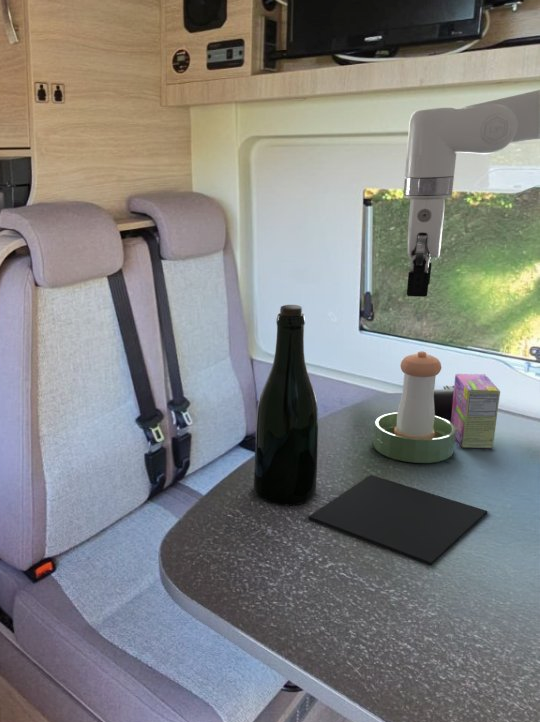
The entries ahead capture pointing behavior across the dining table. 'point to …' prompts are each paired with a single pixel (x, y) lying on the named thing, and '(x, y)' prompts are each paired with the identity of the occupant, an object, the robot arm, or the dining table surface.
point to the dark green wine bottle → (287, 420)
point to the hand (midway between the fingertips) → (418, 290)
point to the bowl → (414, 441)
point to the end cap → (444, 402)
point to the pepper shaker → (417, 397)
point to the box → (475, 410)
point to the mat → (400, 518)
